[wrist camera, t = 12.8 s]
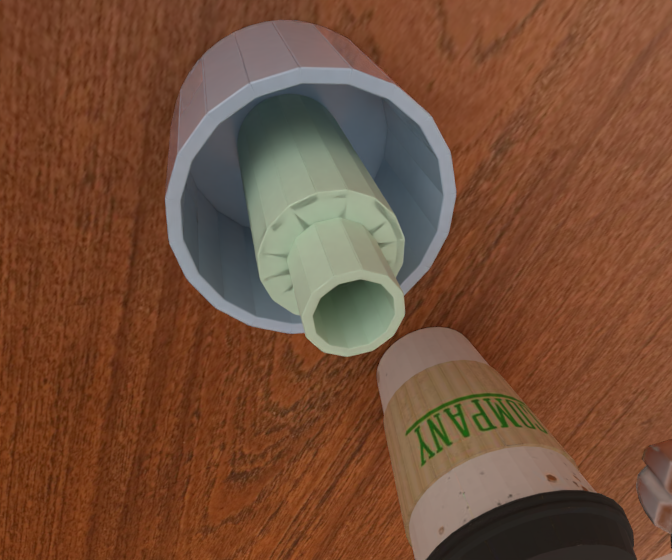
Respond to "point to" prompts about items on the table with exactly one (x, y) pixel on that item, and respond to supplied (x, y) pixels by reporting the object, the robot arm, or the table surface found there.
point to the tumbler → (353, 118)
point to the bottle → (320, 226)
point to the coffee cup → (484, 463)
